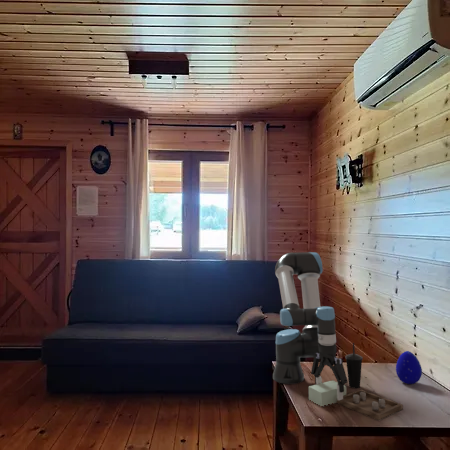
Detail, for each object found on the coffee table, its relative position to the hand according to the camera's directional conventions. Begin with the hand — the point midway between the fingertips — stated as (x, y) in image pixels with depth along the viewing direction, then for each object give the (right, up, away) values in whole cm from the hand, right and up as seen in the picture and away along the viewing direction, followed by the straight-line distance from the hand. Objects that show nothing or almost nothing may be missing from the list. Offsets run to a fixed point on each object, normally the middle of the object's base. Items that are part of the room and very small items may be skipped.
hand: (329, 395), depth 174 cm
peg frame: (+15, -2, -6) cm, 16 cm away
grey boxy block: (-1, -2, +1) cm, 3 cm away
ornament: (+42, -2, +18) cm, 45 cm away
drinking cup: (+15, -2, +15) cm, 22 cm away
